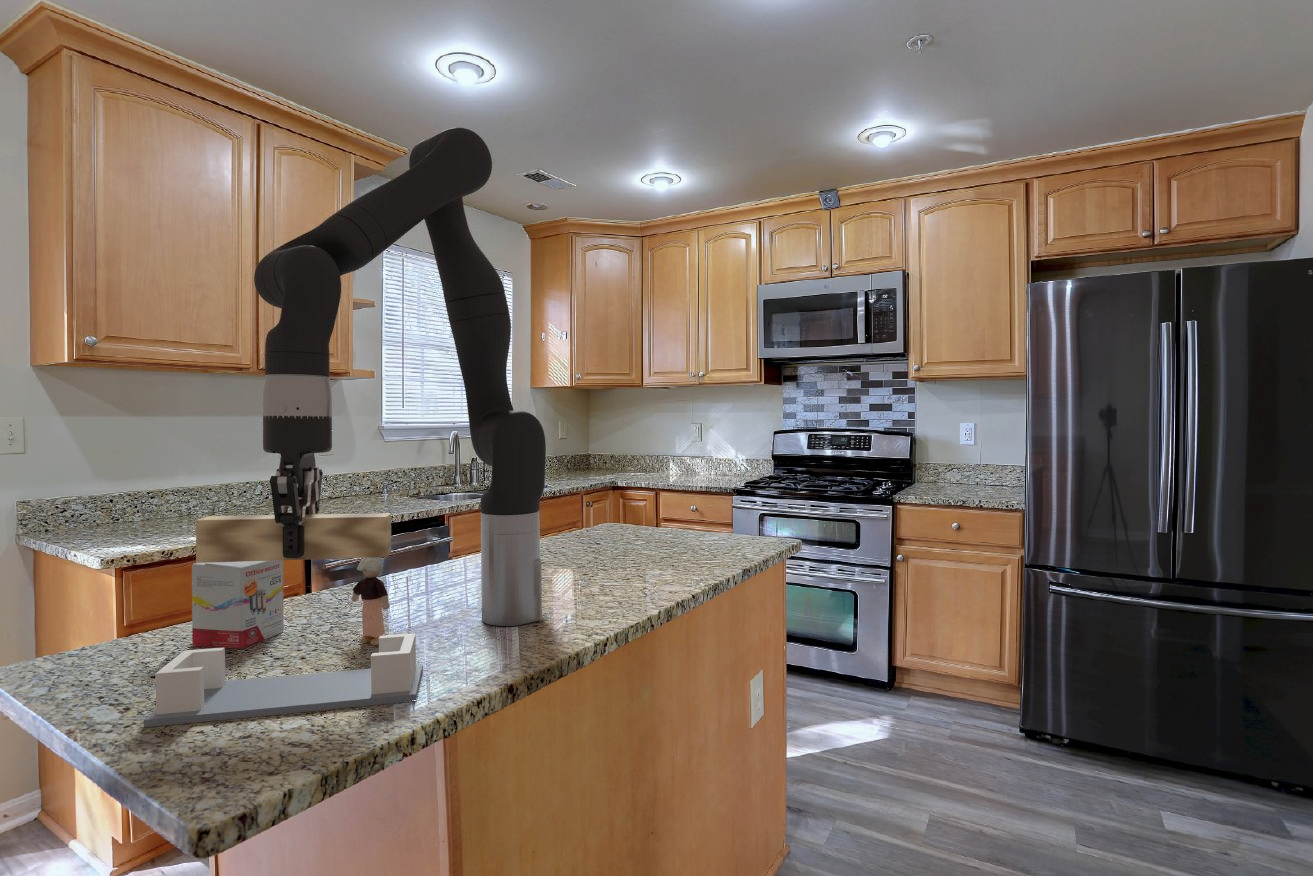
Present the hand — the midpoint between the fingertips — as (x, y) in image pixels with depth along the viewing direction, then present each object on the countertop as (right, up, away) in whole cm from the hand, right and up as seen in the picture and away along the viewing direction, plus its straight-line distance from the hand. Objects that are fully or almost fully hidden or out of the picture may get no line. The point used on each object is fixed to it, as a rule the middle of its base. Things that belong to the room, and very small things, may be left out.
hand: (298, 553), depth 86 cm
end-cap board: (+2, -16, -4) cm, 17 cm away
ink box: (-17, -15, +17) cm, 29 cm away
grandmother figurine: (+3, -15, +16) cm, 22 cm away
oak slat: (0, 0, 0) cm, 0 cm away
